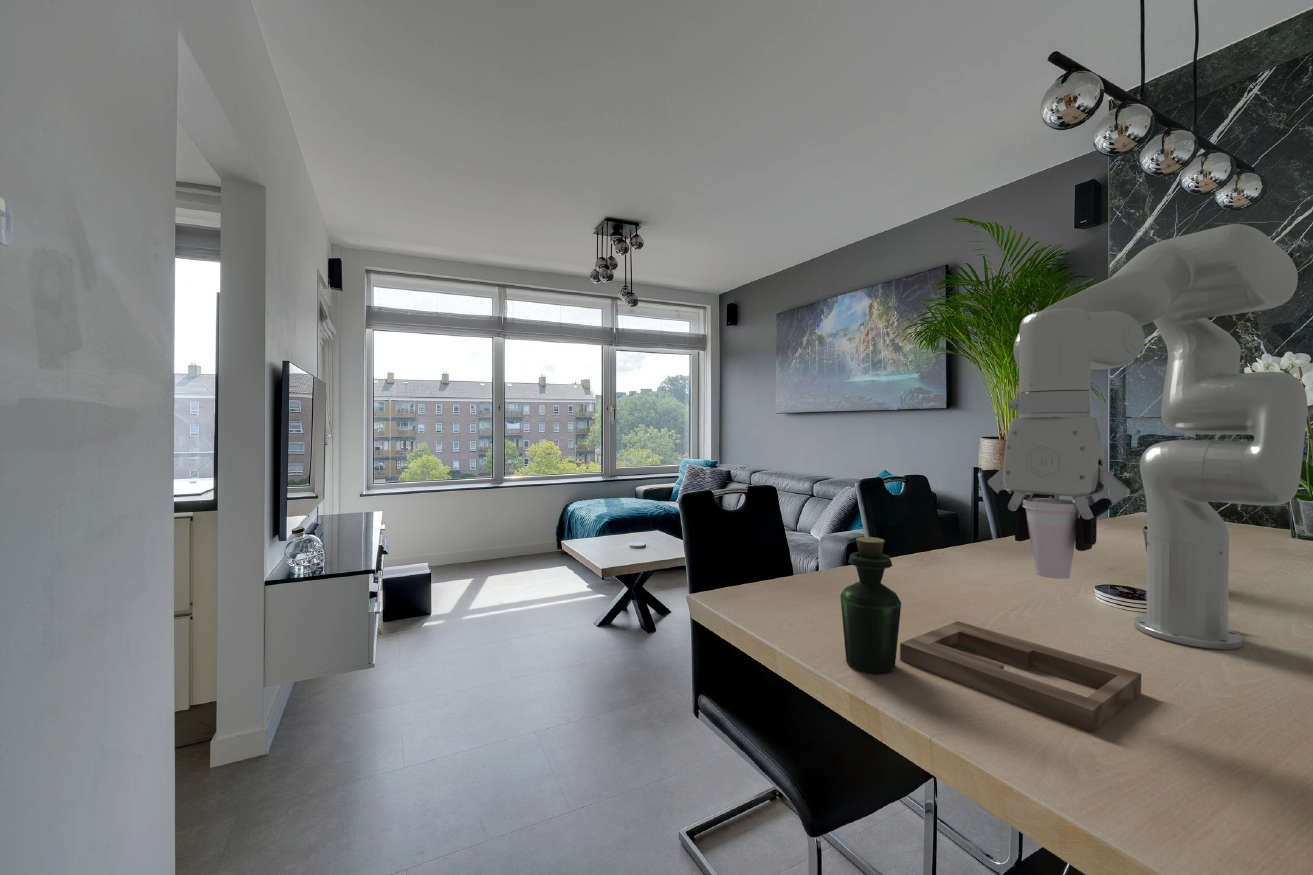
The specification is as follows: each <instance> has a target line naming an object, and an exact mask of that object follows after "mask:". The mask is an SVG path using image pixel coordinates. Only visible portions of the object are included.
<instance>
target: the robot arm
mask: <svg viewBox="0 0 1313 875" xmlns="http://www.w3.org/2000/svg"><path fill="white" fill-rule="evenodd" d="M1298 279H1299V275H1298V270H1297V267H1296V265H1295V263H1294V261H1293V259H1292V258H1291V257H1290V255H1289V254H1288V253H1287V252H1286V251H1285V250H1284V249H1282V247H1280V246H1279V245H1278V244H1277V243H1275V241H1274V240H1272V239H1271V238H1270V237H1269V236H1268V235H1266V234H1265V233H1264V232H1263V231H1260V229H1257V228H1255V227H1253V226H1250V225H1246V224H1241V223H1232V224H1226V225H1221V226H1216V227H1213V228H1209V229H1204V230H1200V231H1197V232H1192V233H1189V234H1185V235H1180V236H1175V237H1172V238H1168V239H1164V240H1161V241H1158V242H1155V243H1153V244H1150V245H1148V246H1147V247H1145V248H1143V249H1142V250H1141V251H1139V252H1138V253H1137V254H1136V255H1135V256H1134V257H1132V258H1131V259H1130V260H1129V261H1128V262H1127V263H1126V264H1125V265H1124V266H1122V267H1121V268H1120V269H1119V270H1117V271H1116V272H1115V273H1114V274H1113V275H1112V276H1111V277H1110V278H1107V279H1105V280H1103V281H1101V282H1099V283H1096V284H1094V285H1092V286H1089V287H1087V288H1085V289H1083V290H1081V291H1079V292H1076V293H1074V294H1073V295H1070V296H1068V297H1065V298H1063V299H1061V300H1059V301H1057V302H1055V303H1053V304H1051V305H1048V306H1047V307H1045V308H1044V309H1042V310H1039V311H1037V312H1033V313H1030V314H1027V315H1026V316H1025V317H1023V318H1022V320H1021V322H1020V324H1019V330H1018V331H1019V332H1018V333H1017V336H1016V337H1015V340H1014V343H1013V357H1014V361H1015V363H1016V365H1017V366H1018V393H1019V394H1016V398H1015V399H1009V400H1008V401H1007V407H1008V409H1009V410H1015V411H1016V413H1017V414H1018V417H1011V418H1010V422H1009V427H1008V431H1007V436H1006V442H1005V448H1004V455H1003V464H1002V465H1003V466H1002V468H1000V469H999V470H998V471H997V472H996V473H995V474H994V475H993V476H991V477H990V478H989V479H988V480H987V484H988V486H989V487H990V488H992V490H993V491H994V492H995V493H997V495H998V497H999V498H1000V499H1001V500H1002V501H1003V503H1004V504H1006V505H1007V508H1008V510H1010V511H1011V513H1012V514H1011V532H1012V534H1014V541H1016V542H1024V541H1028V540H1030V536H1029V530H1028V523H1027V516H1026V509H1025V508H1024V507H1022V506H1023V500H1024V499H1028V498H1033V496H1034V494H1035V495H1036V494H1038V495H1048V496H1049V495H1050V496H1054V495H1059V497H1061V496H1062V497H1072V500H1073V501H1074V502H1075V504H1076V506H1077V508H1078V510H1079V512H1080V514H1079V518H1078V519H1076V523H1075V546H1074V549H1075V550H1077V551H1080V552H1084V551H1085V552H1086V551H1088V550H1091V549H1092V548H1093V546H1095V545H1096V543H1097V537H1098V536H1097V535H1098V534H1097V531H1098V530H1097V524H1098V523H1097V522H1098V518H1100V517H1101V515H1103V514H1105V512H1107V511H1108V510H1109V509H1111V508H1113V507H1114V506H1115V505H1117V504H1118V503H1119V502H1121V501H1122V500H1123V499H1125V498H1127V496H1129V495H1130V494H1131V490H1130V488H1128V487H1127V486H1126V484H1124V483H1123V482H1121V481H1120V480H1119V479H1118V478H1117V477H1115V475H1113V474H1112V473H1111V472H1109V470H1107V469H1106V468H1105V457H1104V448H1103V447H1104V446H1103V442H1102V436H1101V432H1100V431H1101V430H1100V427H1099V423H1098V419H1097V417H1096V416H1091V385H1092V384H1091V376H1092V375H1091V373H1092V371H1099V370H1101V371H1102V370H1110V369H1116V368H1119V367H1120V368H1121V367H1123V366H1126V365H1128V364H1131V362H1133V361H1135V360H1136V359H1137V358H1138V356H1140V354H1141V353H1142V351H1143V349H1144V347H1145V346H1144V345H1145V341H1146V340H1145V339H1146V336H1145V331H1144V329H1143V326H1145V325H1148V324H1151V323H1152V322H1153V324H1154V325H1155V327H1156V328H1157V331H1158V332H1159V334H1160V335H1161V338H1162V339H1163V341H1164V344H1165V346H1166V350H1167V364H1166V366H1167V367H1166V371H1165V377H1164V384H1163V391H1162V398H1161V408H1160V410H1161V411H1160V412H1161V414H1160V415H1161V416H1160V417H1161V421H1162V424H1163V425H1164V427H1166V429H1168V430H1170V431H1172V432H1174V433H1179V434H1188V435H1189V434H1190V435H1247V436H1248V435H1251V436H1253V437H1254V438H1253V440H1252V441H1251V440H1247V441H1246V440H1244V441H1243V440H1212V439H1211V440H1209V439H1207V440H1205V439H1198V440H1197V439H1194V440H1193V439H1179V440H1177V439H1176V440H1174V439H1173V440H1166V441H1161V442H1158V443H1154V444H1152V445H1151V446H1149V447H1148V448H1146V450H1144V451H1143V453H1142V455H1141V457H1140V461H1139V471H1140V477H1141V480H1142V486H1143V491H1144V494H1145V495H1144V496H1145V503H1146V524H1147V526H1146V528H1147V529H1146V531H1147V534H1146V614H1141V615H1137V616H1136V617H1134V620H1133V625H1134V627H1135V628H1136V629H1137V630H1138V631H1141V632H1142V633H1144V634H1146V635H1149V636H1152V637H1155V638H1157V639H1161V640H1164V641H1168V642H1173V643H1175V644H1176V643H1177V644H1181V645H1186V646H1192V647H1197V648H1205V649H1212V650H1213V649H1214V650H1233V649H1238V648H1241V647H1242V646H1243V645H1244V643H1243V636H1241V634H1239V633H1237V632H1236V631H1234V630H1231V629H1229V592H1230V591H1229V585H1230V584H1229V582H1230V581H1229V576H1230V575H1229V571H1230V570H1229V569H1230V532H1229V528H1228V526H1227V524H1226V522H1225V520H1224V519H1223V518H1222V517H1221V516H1220V515H1219V513H1218V512H1217V511H1216V510H1215V509H1214V508H1213V507H1212V505H1210V504H1209V502H1210V503H1211V502H1212V503H1226V504H1227V503H1228V504H1236V505H1237V504H1240V505H1251V506H1266V507H1267V506H1269V507H1271V506H1273V507H1274V506H1275V507H1276V506H1281V505H1284V504H1287V503H1289V502H1290V501H1292V500H1293V499H1294V498H1295V496H1296V494H1297V492H1298V490H1299V485H1300V482H1301V474H1302V467H1303V466H1302V465H1303V456H1304V448H1305V438H1306V437H1305V436H1306V430H1307V429H1306V428H1307V420H1308V398H1307V397H1308V396H1307V393H1306V390H1305V386H1304V385H1303V383H1302V382H1301V380H1300V379H1298V378H1297V377H1296V376H1294V375H1292V374H1290V373H1287V372H1282V371H1258V372H1243V373H1240V361H1241V354H1242V350H1241V349H1242V348H1241V345H1240V344H1239V342H1238V341H1237V340H1236V339H1235V338H1234V336H1232V335H1231V334H1230V333H1229V332H1228V331H1226V330H1225V329H1223V328H1222V327H1220V326H1219V325H1217V324H1215V323H1214V322H1213V321H1212V320H1210V319H1209V318H1213V317H1221V316H1222V317H1223V316H1229V315H1230V316H1231V315H1237V314H1243V313H1251V312H1260V311H1266V310H1270V309H1274V308H1277V307H1280V306H1283V305H1284V304H1285V303H1287V302H1289V300H1290V299H1291V298H1292V297H1293V295H1294V294H1295V292H1296V290H1297V287H1298V283H1299V282H1298V281H1299V280H1298ZM1104 488H1106V489H1107V490H1108V493H1107V494H1105V495H1104V496H1103V497H1102V498H1099V499H1098V500H1096V498H1095V496H1094V495H1096V494H1099V493H1101V492H1103V491H1104Z"/></svg>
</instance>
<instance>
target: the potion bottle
mask: <svg viewBox="0 0 1313 875" xmlns="http://www.w3.org/2000/svg"><path fill="white" fill-rule="evenodd" d="M855 541H856V546H857V550H858V551H856V552H852V553H851V554H850V555H849V559H848V563H849V564H850V565H852V566H854V567H855V568H856V573H857V576H858V580H859V581H857V582H855V583H853V584H851V585H848V586H846V587H845V588H844V589H843V590H842V592H840V593H841V594H840V595H839V596H840V606H841V608H840V610H841V616H842V617H841V618H842V629H843V638H844V639H843V640H844V649H845V650H844V651H845V659H846V663H847V664H848V665H849V666H850V667H851V668H852V669H854V670H856V671H859V672H860V673H861V672H862V673H866V674H872V675H885V674H889V673H891V672H892V671H893V670H894V669H895V667H896V663H897V662H896V661H897V651H898V650H897V649H898V640H899V631H900V630H899V629H900V620H901V611H902V610H901V608H902V601H901V599H900V598H899V596H898V593H897V592H895V591H894V590H892V589H891V588H889V587H887V586H886V585H885V584H883V583H882V580H883V576H884V572H885V569H888V568H891V567H893V566H894V565H893V563H892V560H891V557H890V556H889V555H887V554H884V553H883V550H884V544H885V540H884V539H883V538H879V537H873V536H860V537H856V539H855Z"/></svg>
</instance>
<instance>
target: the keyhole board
mask: <svg viewBox="0 0 1313 875" xmlns="http://www.w3.org/2000/svg"><path fill="white" fill-rule="evenodd" d="M899 645H900V646H899V661H902V662H904V663H908V664H910V665H912V666H915V667H918V668H920V669H923V670H925V671H928V672H931V673H933V674H936V675H939V676H940V677H943V678H944V677H945V678H946V679H950V680H952V681H955V682H958V683H959V684H963V685H965V686H968V687H971V688H974V689H975V690H979V691H981V692H984V693H987V694H989V695H991V696H994V697H997V698H1000V699H1003V700H1004V701H1007V702H1010V703H1013V704H1015V705H1018V706H1021V707H1024V708H1025V709H1029V710H1032V711H1034V712H1037V713H1039V714H1042V715H1044V716H1048V717H1050V718H1052V719H1055V720H1058V721H1061V722H1063V723H1065V724H1068V725H1071V726H1074V727H1076V728H1079V729H1082V730H1085V731H1087V732H1090V733H1094V732H1095V731H1096V730H1098V729H1099V728H1100V727H1101V726H1102V725H1104V724H1105V723H1106V722H1108V721H1109V720H1110V719H1111V718H1112V717H1114V716H1115V715H1116V714H1117V713H1119V712H1120V711H1121V710H1122V709H1124V708H1125V707H1126V706H1127V705H1128V704H1130V703H1131V702H1132V701H1133V700H1135V699H1136V698H1138V697H1139V696H1140V695H1141V694H1142V673H1140V672H1137V671H1133V670H1131V669H1127V668H1123V667H1119V666H1116V665H1113V664H1108V663H1105V662H1103V661H1097V660H1095V659H1092V658H1088V657H1086V656H1085V657H1083V656H1080V655H1077V654H1074V653H1070V652H1066V651H1064V650H1060V649H1056V648H1053V647H1049V646H1046V645H1042V644H1039V643H1035V642H1032V641H1028V640H1025V639H1022V638H1018V637H1014V636H1011V635H1008V634H1003V633H1000V632H997V631H994V630H991V629H986V628H983V627H979V626H977V625H974V624H973V625H972V624H970V623H969V624H968V623H965V622H963V621H958V620H957V621H954V622H952V623H949V624H947V625H943V626H941V627H939V628H936V629H933V630H931V631H928V632H926V633H923V634H920V635H917V636H915V637H912V638H910V639H907V640H904V641H902V642H900V643H899ZM958 647H959V648H958ZM956 648H957V649H956ZM962 648H963V649H962ZM958 649H962V650H965V651H962V650H958ZM966 651H968V652H971V653H974V654H978V655H981V656H984V657H986V658H984V657H981V656H978V655H974V654H971V653H968V652H966ZM987 658H990V659H993V660H996V661H997V662H995V661H992V660H990V659H987ZM998 661H999V662H1001V663H998ZM1002 663H1005V664H1008V665H1010V666H1011V665H1012V666H1014V667H1016V668H1020V669H1023V670H1026V671H1029V670H1032V669H1035V670H1039V671H1042V672H1045V673H1048V674H1051V675H1054V676H1056V677H1057V676H1058V677H1061V678H1064V679H1066V680H1069V681H1074V682H1077V683H1080V684H1082V685H1086V686H1088V687H1092V688H1095V689H1097V690H1095V691H1093V692H1092V693H1091V694H1090V695H1088V696H1084V695H1081V694H1078V693H1075V692H1072V691H1069V690H1066V689H1063V688H1060V687H1057V686H1055V685H1051V684H1048V683H1046V682H1043V681H1040V680H1038V679H1037V680H1036V679H1033V678H1031V677H1027V676H1025V675H1022V674H1019V673H1017V672H1016V673H1015V672H1013V671H1010V670H1007V669H1005V665H1004V664H1002Z"/></svg>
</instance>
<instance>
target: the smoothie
mask: <svg viewBox="0 0 1313 875" xmlns="http://www.w3.org/2000/svg"><path fill="white" fill-rule="evenodd" d="M1022 507H1024V508H1025V509H1026V516H1027V523H1028V530H1029V536H1030V539H1029V540H1030V541H1029V542H1030V549H1031V556H1032V562H1033V569H1034V570H1033V571H1034V574H1035V575H1037V576H1040V577H1044V578H1049V579H1058V580H1059V579H1061V580H1063V579H1064V580H1065V579H1070V578H1071V577H1070V576H1071V571H1072V564H1073V557H1074V551H1075V550H1074V549H1075V523H1076V519H1078V518H1080V512H1079V510H1078V508H1077V506H1076V504H1075V502H1074V499H1063V498H1060V496H1059V495H1053V498H1049V497H1048V498H1047V497H1046V498H1045V497H1043V498H1041V497H1032V498H1028V499H1024V500H1023V506H1022Z"/></svg>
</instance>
